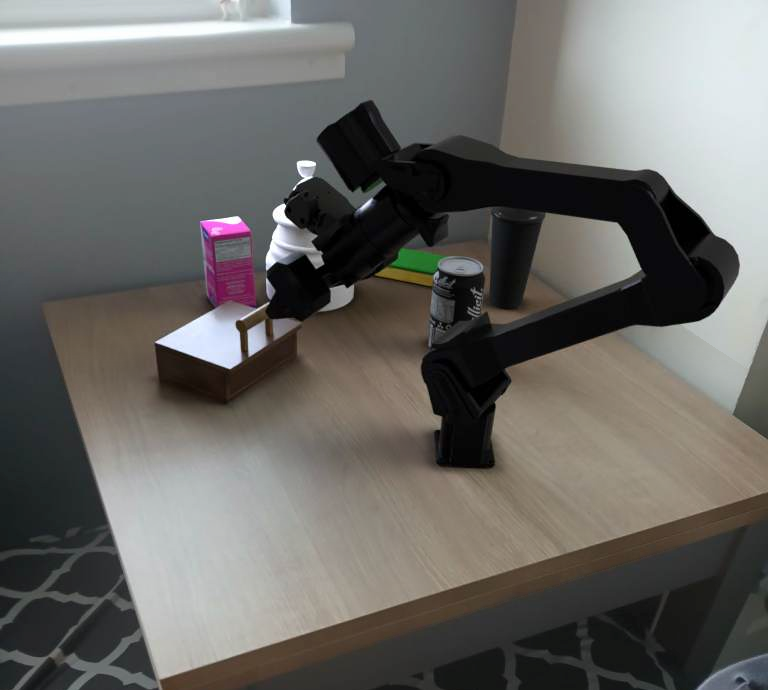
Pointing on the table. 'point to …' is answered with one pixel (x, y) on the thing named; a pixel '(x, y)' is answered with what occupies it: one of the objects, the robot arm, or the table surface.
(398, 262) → the dish sponge
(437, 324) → the beverage can
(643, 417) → the table surface
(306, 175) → the honey pot
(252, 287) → the supplement box
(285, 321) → the lid
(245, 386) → the tea box
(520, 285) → the drinking cup
